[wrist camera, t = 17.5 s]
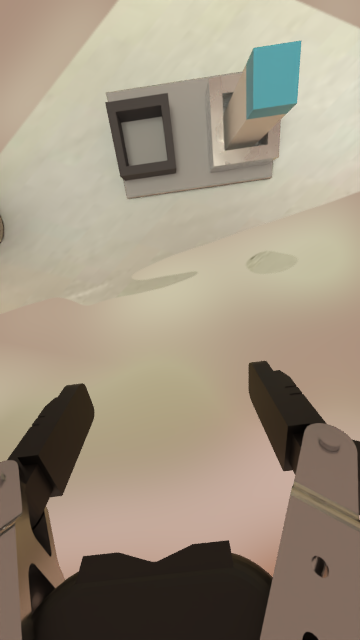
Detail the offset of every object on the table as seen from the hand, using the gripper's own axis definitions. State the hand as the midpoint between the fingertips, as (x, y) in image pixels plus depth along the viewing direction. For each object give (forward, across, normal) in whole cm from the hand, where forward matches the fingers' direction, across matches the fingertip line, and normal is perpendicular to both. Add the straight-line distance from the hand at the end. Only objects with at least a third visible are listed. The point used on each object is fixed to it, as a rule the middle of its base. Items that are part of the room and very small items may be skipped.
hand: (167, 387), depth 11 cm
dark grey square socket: (+30, +1, -18) cm, 35 cm away
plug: (+29, -12, -18) cm, 36 cm away
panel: (+30, -6, -18) cm, 36 cm away
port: (+30, -12, -18) cm, 37 cm away
